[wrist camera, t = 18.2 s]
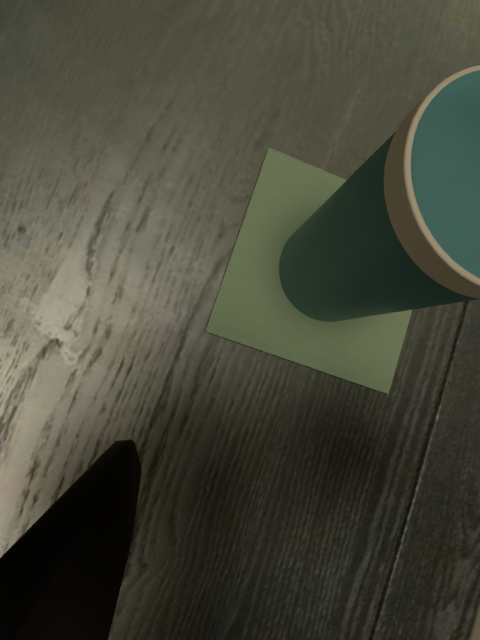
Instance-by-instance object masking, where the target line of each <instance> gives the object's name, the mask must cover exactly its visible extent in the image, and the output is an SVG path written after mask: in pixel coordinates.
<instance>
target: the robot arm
mask: <svg viewBox="0 0 480 640" xmlns="http://www.w3.org/2000/svg"><path fill="white" fill-rule="evenodd" d="M140 479H141V462H140V459H139V455H138V452H137V448H136V445H135V442H134V441H133V440H131V439H129V440H118V441H115V442H114V443H113V444H112V445H111V446H110V447H109V448H108V449H107V450H106V451H105V452H104V453H103V454H102V455H101V456H100V457H99V458H98V459H97V460H96V461H95V462H94V463H93V464H92V465H91V466H90V467H89V468H88V469H87V470H86V471H85V472H84V473H83V474H82V475H81V476H80V477H79V478H78V479H77V480H76V481H75V482H74V483H73V484H72V486H71V487H70V488H69V489H68V490H67V491H66V492H65V493H64V494H63V495H62V496H61V497H60V498H59V499H58V500H57V501H56V502H55V503H54V504H53V505H52V506H51V507H50V508H49V509H48V510H47V511H46V512H45V513H44V514H43V515H42V516H41V517H40V518H39V519H38V520H37V521H36V522H35V523H34V524H33V525H32V526H31V527H30V528H29V529H28V530H27V531H26V532H25V533H24V534H23V535H22V536H21V537H20V539H19V540H18V541H17V542H16V543H15V544H14V545H13V546H12V547H11V548H10V549H9V550H8V551H7V552H6V553H5V554H4V555H3V556H2V557H1V558H0V640H108V636H109V632H110V628H111V624H112V620H113V616H114V612H115V608H116V604H117V600H118V596H119V591H120V587H121V583H122V579H123V575H124V571H125V567H126V563H127V559H128V555H129V551H130V546H131V542H132V537H133V530H134V524H135V516H136V509H137V502H138V494H139V487H140Z"/></svg>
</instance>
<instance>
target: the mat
mask: <svg viewBox="0 0 480 640" xmlns="http://www.w3.org/2000/svg"><path fill="white" fill-rule="evenodd" d="M346 181H347V180H346V179H343V178H341V177H338V176H336V175H334V174H331V173H329V172H326V171H324V170H322V169H319V168H317V167H314V166H312V165H310V164H307V163H305V162H302V161H300V160H298V159H295V158H293V157H291V156H288V155H286V154H283V153H281V152H279V151H276V150H274V149H271V148H268V150H267V153H266V156H265V158H264V161H263V164H262V167H261V170H260V173H259V176H258V179H257V182H256V185H255V187H254V190H253V193H252V196H251V199H250V202H249V205H248V208H247V211H246V214H245V216H244V219H243V222H242V225H241V228H240V231H239V234H238V237H237V240H236V242H235V245H234V248H233V251H232V254H231V257H230V260H229V263H228V266H227V269H226V271H225V274H224V277H223V280H222V283H221V286H220V289H219V292H218V295H217V297H216V300H215V303H214V306H213V309H212V312H211V315H210V318H209V321H208V324H207V326H206V329H205V332H207V333H210V334H213V335H216V336H219V337H222V338H225V339H228V340H230V341H233V342H236V343H239V344H242V345H245V346H248V347H251V348H254V349H257V350H260V351H263V352H265V353H268V354H271V355H274V356H277V357H280V358H283V359H286V360H289V361H292V362H295V363H297V364H300V365H303V366H306V367H309V368H312V369H315V370H318V371H321V372H324V373H327V374H330V375H332V376H335V377H338V378H341V379H344V380H347V381H350V382H353V383H356V384H359V385H362V386H364V387H367V388H370V389H373V390H376V391H379V392H382V393H385V394H389V391H390V388H391V384H392V380H393V377H394V373H395V370H396V366H397V363H398V359H399V355H400V352H401V348H402V345H403V341H404V338H405V334H406V330H407V327H408V323H409V320H410V316H411V312H412V310H406V311H400V312H393V313H387V314H381V315H374V316H368V317H362V318H355V319H349V320H343V321H336V322H325V321H319V320H315V319H313V318H310V317H308V316H306V315H305V314H303V313H302V312H300V311H299V310H298V309H297V308H296V307H295V306H294V305H293V304H292V303H291V302H290V301H289V299H288V297H287V296H286V294H285V292H284V290H283V288H282V284H281V281H280V275H279V262H280V257H281V253H282V250H283V248H284V246H285V244H286V242H287V241H288V239H289V238H290V236H291V235H292V234H293V233H294V232H295V231H296V230H297V229H298V228H299V227H300V226H301V225H302V224H303V223H304V222H305V221H306V220H307V219H308V218H309V217H310V216H311V215H312V214H313V213H314V212H315V211H316V210H317V209H318V208H319V207H320V206H321V205H322V204H323V203H324V202H325V201H326V200H327V199H328V198H329V197H331V196H332V195H333V194H334V193H335V192H336V191H337V190H338V189H339V188H340V187H341V186H342V185H343V184H344V183H345V182H346Z"/></svg>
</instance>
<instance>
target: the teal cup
mask: <svg viewBox="0 0 480 640" xmlns="http://www.w3.org/2000/svg"><path fill="white" fill-rule="evenodd" d="M279 275H280V281H281V284H282V288H283V290H284V292H285V294H286V296H287V297H288V299H289V301H290V302H291V303H292V304H293V305H294V306H295V307H296V308H297V309H298V310H299V311H300V312H302V313H303V314H305V315H306V316H308V317H310V318H313V319H315V320H319V321H325V322H336V321H343V320H349V319H355V318H362V317H368V316H374V315H381V314H387V313H393V312H400V311H406V310H412V309H419V308H425V307H431V306H438V305H444V304H450V303H457V302H463V301H469V300H476V299H480V65H479V66H474V67H470V68H467V69H465V70H462V71H459V72H457V73H455V74H453V75H451V76H450V77H448V78H446V79H445V80H443V81H442V82H441V83H439V84H438V85H437V86H436V87H435V88H434V89H433V90H432V91H431V92H430V93H429V94H428V95H427V96H426V97H425V98H424V99H423V100H422V101H421V102H420V103H419V104H418V105H417V106H416V107H415V108H414V109H413V110H412V111H411V112H410V113H409V114H408V115H407V116H406V117H405V119H404V120H403V122H402V123H401V124H400V126H399V127H398V129H397V131H396V132H395V133H394V134H393V135H392V136H391V137H390V138H389V139H388V140H387V141H386V142H385V143H384V144H383V145H382V146H381V147H380V148H379V149H378V150H377V151H376V152H375V153H374V154H373V155H372V156H371V157H370V158H369V159H368V160H367V161H366V162H365V163H364V164H363V165H362V166H361V167H360V168H359V169H358V170H357V171H356V172H355V173H354V174H353V175H352V176H351V177H350V178H349V179H348V180H347V181H346V182H345V183H344V184H343V185H342V186H341V187H340V188H339V189H338V190H337V191H336V192H335V193H334V194H333V195H332V196H331V197H329V198H328V199H327V200H326V201H325V202H324V203H323V204H322V205H321V206H320V207H319V208H318V209H317V210H316V211H315V212H314V213H313V214H312V215H311V216H310V217H309V218H308V219H307V220H306V221H305V222H304V223H303V224H302V225H301V226H300V227H299V228H298V229H297V230H296V231H295V232H294V233H293V234H292V235H291V236H290V238H289V239H288V241H287V242H286V244H285V246H284V248H283V250H282V253H281V257H280V262H279Z"/></svg>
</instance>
